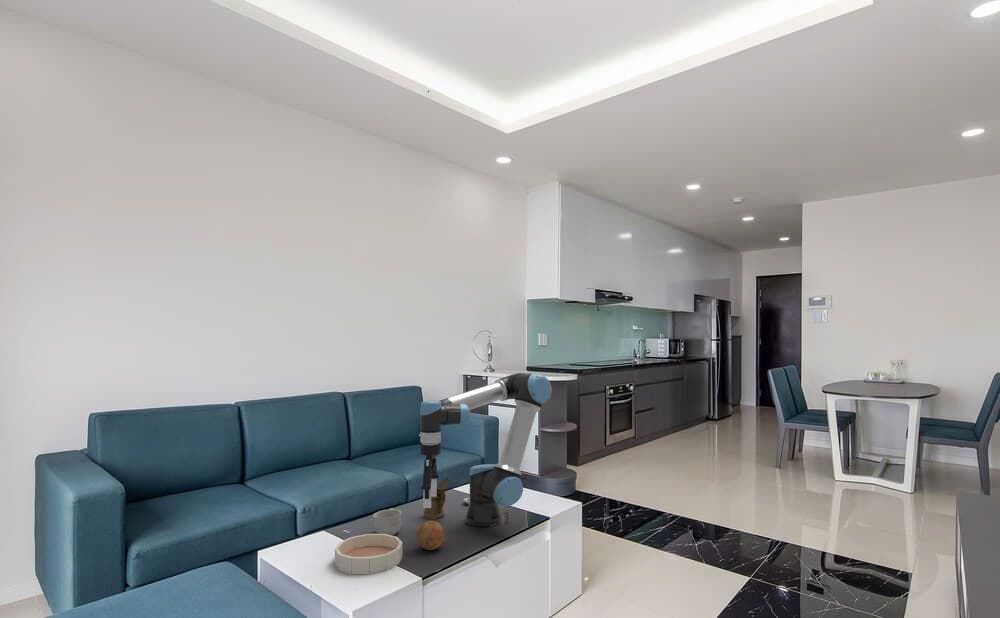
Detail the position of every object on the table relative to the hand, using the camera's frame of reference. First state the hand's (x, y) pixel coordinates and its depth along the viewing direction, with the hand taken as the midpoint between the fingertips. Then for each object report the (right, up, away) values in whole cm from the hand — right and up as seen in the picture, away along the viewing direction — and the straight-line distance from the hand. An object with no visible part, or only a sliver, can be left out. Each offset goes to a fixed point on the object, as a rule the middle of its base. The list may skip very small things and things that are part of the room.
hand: (430, 501), depth 194 cm
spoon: (+20, -21, +63) cm, 70 cm away
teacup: (-19, -18, +16) cm, 30 cm away
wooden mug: (-1, -19, +34) cm, 39 cm away
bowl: (-20, -16, -11) cm, 28 cm away
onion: (0, -17, -1) cm, 17 cm away
